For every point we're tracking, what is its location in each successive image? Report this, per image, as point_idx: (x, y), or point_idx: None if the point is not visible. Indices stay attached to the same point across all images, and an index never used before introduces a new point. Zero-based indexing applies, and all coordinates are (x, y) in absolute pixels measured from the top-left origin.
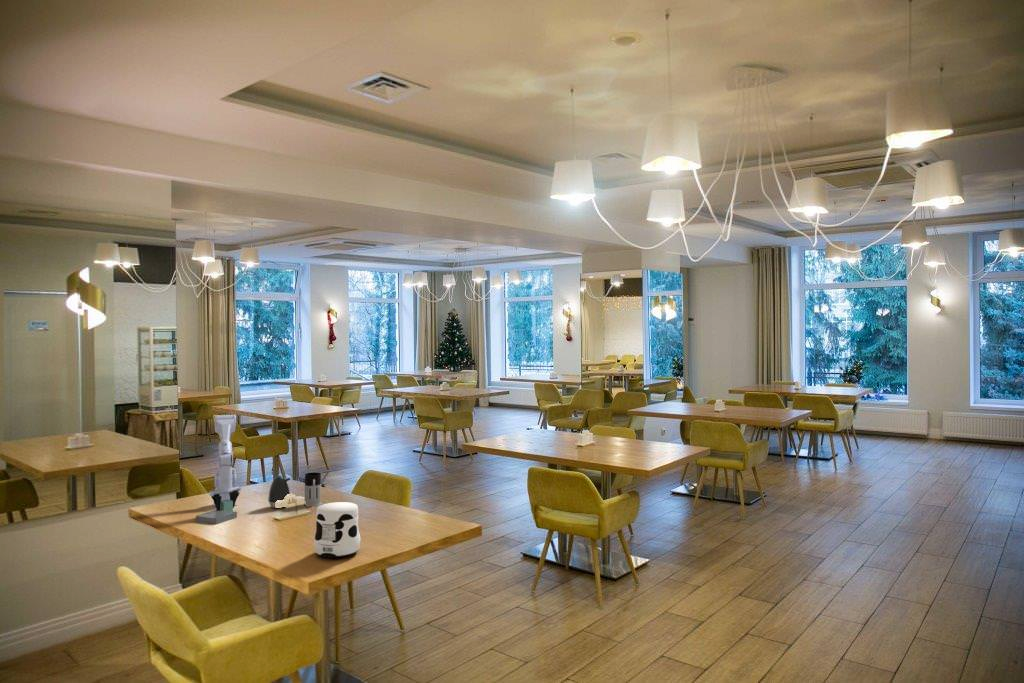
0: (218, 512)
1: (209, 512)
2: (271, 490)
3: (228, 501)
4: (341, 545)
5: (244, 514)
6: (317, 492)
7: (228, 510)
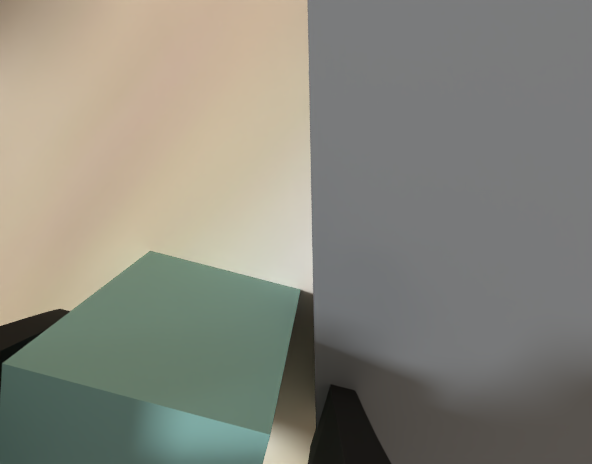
0: (491, 287)
1: (544, 438)
2: None
3: (125, 406)
4: None
5: (98, 13)
6: None
7: (207, 295)
